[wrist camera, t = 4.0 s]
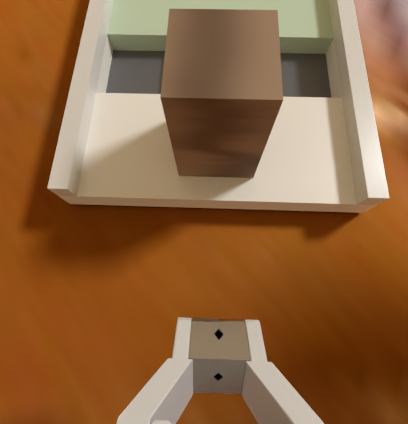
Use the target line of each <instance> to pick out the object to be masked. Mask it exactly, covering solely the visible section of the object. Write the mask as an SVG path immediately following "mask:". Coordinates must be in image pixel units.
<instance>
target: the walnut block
mask: <svg viewBox="0 0 408 424" xmlns="http://www.w3.org/2000/svg"><path fill="white" fill-rule="evenodd" d="M160 98H161V102H162V106H163V111H164V115H165V119H166V123H167V128H168V132H169V136H170V141H171V145H172V149H173V153H174V158H175V162H176V166H177V170H178V175H179V176H198V177H235V178H253V177H254V175H255V172H256V170H257V167H258V164H259V162H260V159H261V157H262V154H263V151H264V149H265V146H266V144H267V141H268V138H269V136H270V133H271V131H272V128H273V125H274V123H275V120H276V118H277V115H278V112H279V110H280V107H281V105H282V102H283V87H282V72H281V56H280V40H279V25H278V10H236V9H169V17H168V27H167V37H166V47H165V57H164V67H163V77H162V86H161V96H160Z"/></svg>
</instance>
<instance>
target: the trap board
mask: <svg viewBox="0 0 408 424" xmlns="http://www.w3.org/2000/svg"><path fill="white" fill-rule="evenodd" d="M169 9H236V10H278V25H279V40H280V56H281V72H282V87H283V102H282V105H281V107H280V110H279V112H278V115H277V118H276V120H275V123H274V125H273V128H272V131H271V133H270V136H269V138H268V141H267V144H266V146H265V149H264V151H263V154H262V157H261V159H260V162H259V164H258V167H257V170H256V172H255V175H254V177H253V178H235V177H198V176H179V175H178V170H177V166H176V162H175V158H174V153H173V149H172V145H171V141H170V136H169V132H168V128H167V123H166V119H165V115H164V111H163V106H162V102H161V98H160V96H161V86H162V77H163V67H164V57H165V47H166V37H167V27H168V17H169ZM47 189H49V190H50V191H52V192H53V193H55V194H56V195H58V196H59V197H60V198H62V199H63V200H65V201H66V202H68V203H69V204H86V205H120V206H153V207H187V208H220V209H254V210H287V211H321V212H354V213H363V212H365V211H367V210H369V209H371V208H373V207H374V206H376V205H378V204H380V203H382V202H384V201H385V200H387V199H389V193H388V187H387V182H386V176H385V171H384V165H383V160H382V154H381V149H380V144H379V138H378V133H377V127H376V122H375V116H374V111H373V105H372V100H371V94H370V89H369V83H368V78H367V72H366V67H365V61H364V56H363V50H362V45H361V39H360V34H359V28H358V23H357V17H356V12H355V7H354V1H353V0H90V1H89V6H88V10H87V15H86V19H85V23H84V28H83V32H82V37H81V41H80V46H79V50H78V54H77V59H76V63H75V68H74V72H73V76H72V81H71V85H70V90H69V94H68V99H67V103H66V107H65V112H64V116H63V121H62V125H61V129H60V134H59V138H58V143H57V147H56V152H55V156H54V160H53V165H52V169H51V174H50V178H49V182H48V187H47Z"/></svg>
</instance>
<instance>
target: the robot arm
mask: <svg viewBox="0 0 408 424" xmlns="http://www.w3.org/2000/svg"><path fill="white" fill-rule="evenodd" d="M193 393H228V394H242V397H243V399H244V401H245V402H246V404H247V406H248V408H249V409H250V411H251V413H252V414H253V416H254V418H255V419H256V421H257V423H258V424H324V423H323V422H322V420H321V419H320V418H319V417H318V416H317V414H316V413H315V412H314V411H313V410H312V409H311V407H310V406H309V405H308V404H307V403H306V402H305V400H304V399H303V398H302V397H301V396H300V395H299V393H298V392H297V391H296V390H295V389H294V388H293V386H292V385H291V384H290V383H289V382H288V381H287V379H286V378H285V377H284V376H283V375H282V373H281V372H280V371H279V370H278V369H277V368H276V366H275V365H274V364H273V363H272V362H267V357H266V352H265V347H264V341H263V336H262V331H261V326H260V322H259V320H244V319H204V318H184V317H178V320H177V325H176V332H175V339H174V346H173V353H172V358H168V359H167V360H166V361H165V362H164V363H163V364H162V366H161V367H160V368H159V369H158V370H157V372H156V373H155V374H154V375H153V376H152V378H151V379H150V380H149V381H148V382H147V384H146V385H145V386H144V387H143V388H142V390H141V391H140V392H139V393H138V394H137V395H136V397H135V398H134V399H133V400H132V401H131V403H130V404H129V405H128V406H127V407H126V409H125V410H124V411H123V412H122V413H121V415H120V416H119V417H118V420H117V424H176V423H177V421H178V419H179V417H180V416H181V414H182V412H183V411H184V409H185V407H186V406H187V404H188V402H189V400H190V399H191V397H192V395H193Z"/></svg>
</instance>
